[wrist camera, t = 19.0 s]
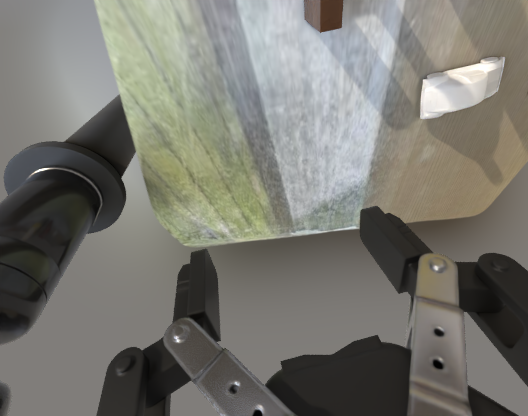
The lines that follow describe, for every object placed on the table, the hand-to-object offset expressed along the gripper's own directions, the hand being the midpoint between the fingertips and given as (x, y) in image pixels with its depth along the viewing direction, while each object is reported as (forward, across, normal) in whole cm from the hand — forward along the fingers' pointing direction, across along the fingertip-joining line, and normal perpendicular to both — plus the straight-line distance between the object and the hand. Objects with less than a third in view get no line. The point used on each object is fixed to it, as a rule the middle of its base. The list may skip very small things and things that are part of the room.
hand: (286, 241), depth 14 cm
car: (+28, -32, +5) cm, 43 cm away
